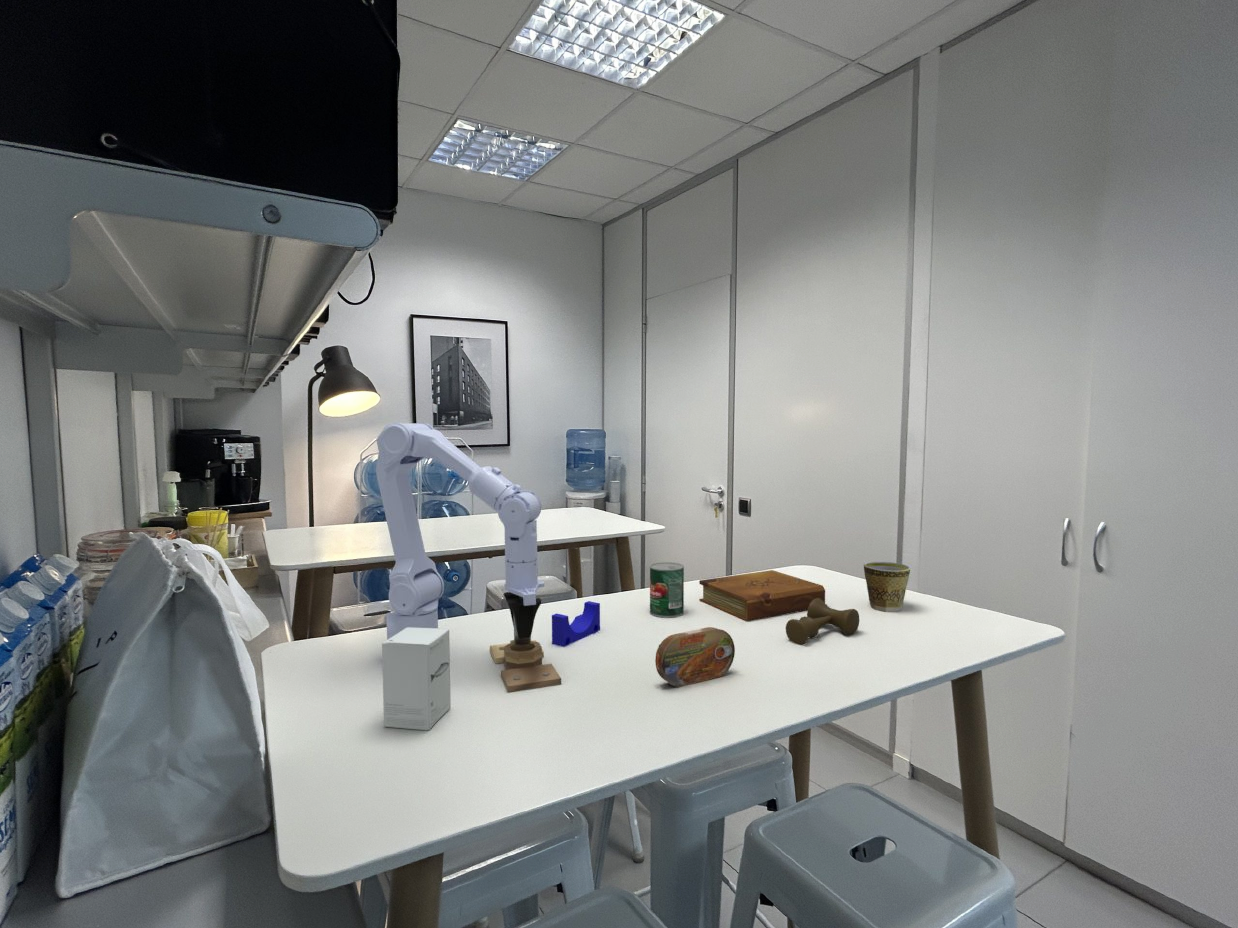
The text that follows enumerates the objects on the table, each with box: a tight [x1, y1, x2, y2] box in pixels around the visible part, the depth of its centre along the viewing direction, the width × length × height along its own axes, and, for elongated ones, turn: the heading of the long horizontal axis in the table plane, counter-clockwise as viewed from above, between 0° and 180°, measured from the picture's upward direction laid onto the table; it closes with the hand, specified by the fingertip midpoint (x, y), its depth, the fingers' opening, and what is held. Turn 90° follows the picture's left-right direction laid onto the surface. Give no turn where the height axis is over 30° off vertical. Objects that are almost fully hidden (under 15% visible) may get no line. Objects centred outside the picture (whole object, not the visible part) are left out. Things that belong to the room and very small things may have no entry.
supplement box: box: [381, 627, 452, 731], centre depth 92 cm, size 7×7×13 cm
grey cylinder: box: [513, 618, 532, 645], centre depth 112 cm, size 3×3×6 cm
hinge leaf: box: [489, 639, 545, 665], centre depth 115 cm, size 9×13×4 cm
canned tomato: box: [649, 561, 685, 619], centre depth 143 cm, size 8×8×11 cm
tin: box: [654, 626, 736, 688], centre depth 106 cm, size 15×3×8 cm, turn 117°
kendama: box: [785, 598, 860, 646], centre depth 129 cm, size 6×10×20 cm
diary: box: [698, 569, 826, 622], centre depth 150 cm, size 23×19×6 cm
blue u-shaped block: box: [551, 600, 601, 648], centre depth 128 cm, size 12×4×6 cm, turn 145°
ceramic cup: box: [863, 561, 911, 613], centre depth 147 cm, size 13×10×10 cm
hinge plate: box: [500, 657, 562, 693], centre depth 109 cm, size 9×13×2 cm
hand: (522, 634), depth 112 cm, fingers closed on grey cylinder, 3 cm apart
